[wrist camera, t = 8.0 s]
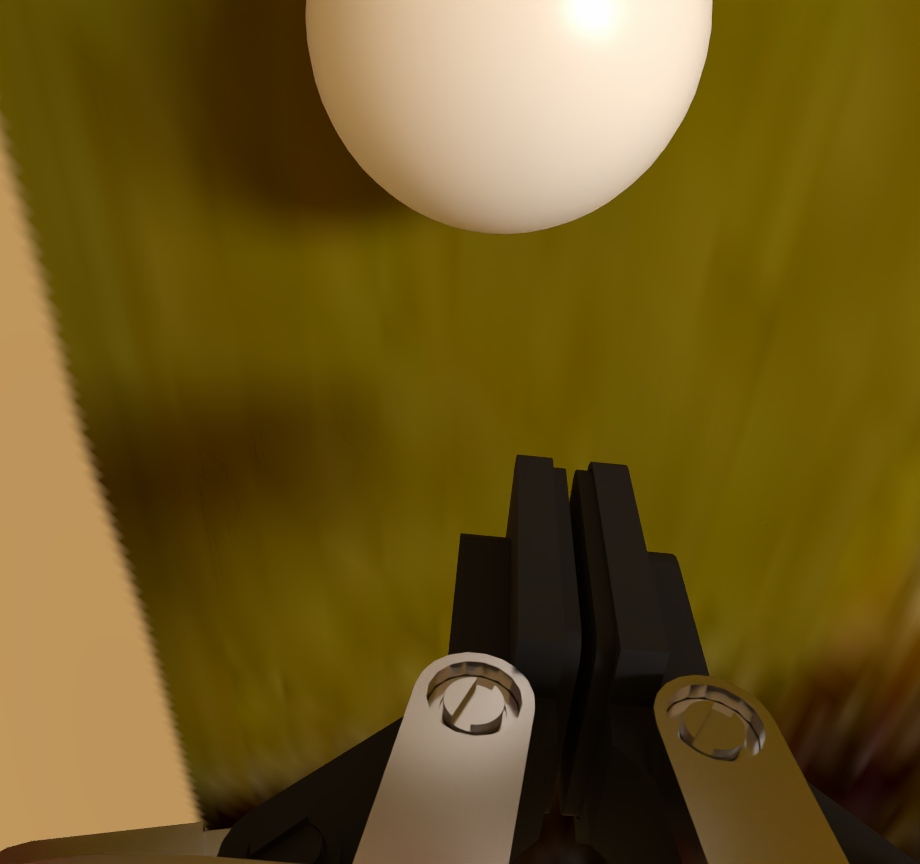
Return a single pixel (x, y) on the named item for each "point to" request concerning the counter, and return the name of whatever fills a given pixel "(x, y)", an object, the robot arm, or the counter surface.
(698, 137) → the counter surface
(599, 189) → the cue ball
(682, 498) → the counter surface
